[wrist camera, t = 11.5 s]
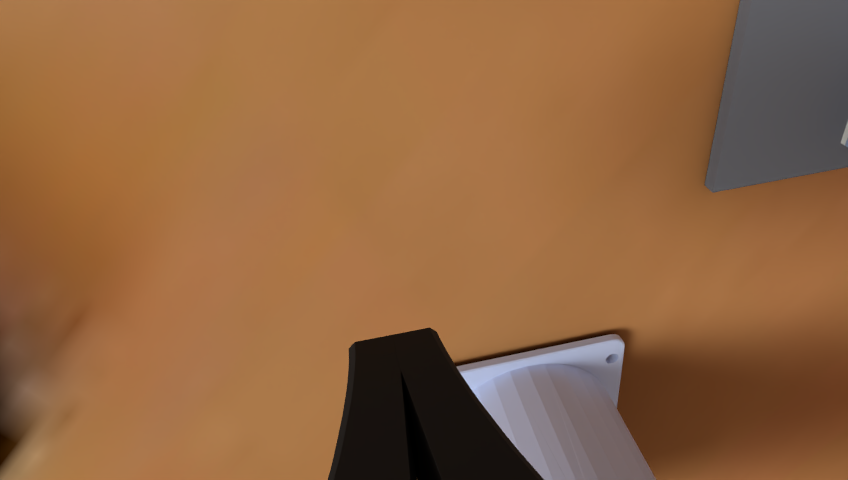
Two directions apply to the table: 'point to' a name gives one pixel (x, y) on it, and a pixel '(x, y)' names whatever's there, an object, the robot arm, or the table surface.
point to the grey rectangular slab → (782, 94)
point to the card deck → (845, 137)
